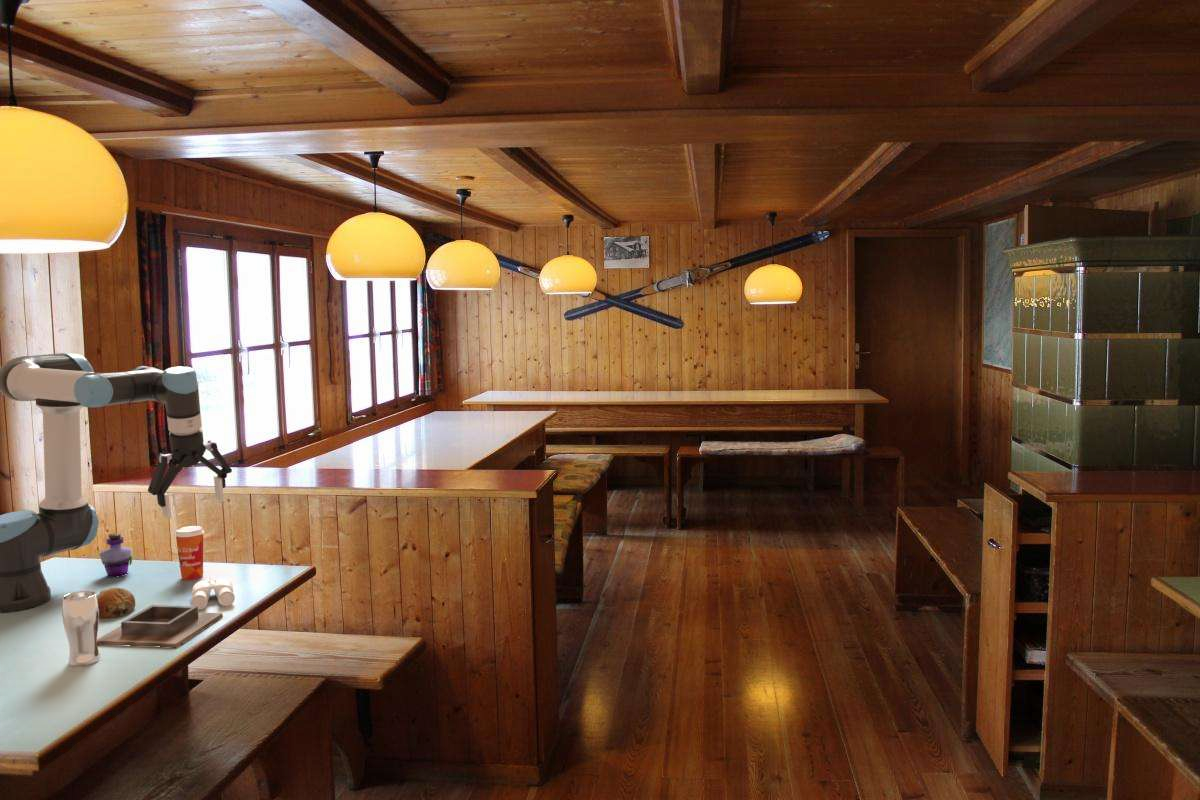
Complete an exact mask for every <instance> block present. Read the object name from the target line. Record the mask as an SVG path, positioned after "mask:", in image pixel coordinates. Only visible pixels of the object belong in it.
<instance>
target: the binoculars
mask: <svg viewBox="0 0 1200 800" xmlns="http://www.w3.org/2000/svg"><path fill="white" fill-rule="evenodd" d="M212 590H214V594H215V597H216V598H217V600H218V603H219V604H220V605H221V606H222V607H229V606H231V605H232V604H233V603H234V602H235V599H236V596H235V593H234V586H233V582H232V581H231V580H230V579H228V578H226V577H222V578H215V577H211V576H210V578H209V579H206V580H199V581H197V582H195V584H194V585H193V587H192V591H191V596H192V597H191V600H190V606H195V607H198V611H200V610H199V609H201V610H204V609H206V607H207V605H208V603H209V600H210V598H211V593H212Z"/></svg>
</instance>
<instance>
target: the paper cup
mask: <svg viewBox="0 0 1200 800" xmlns="http://www.w3.org/2000/svg"><path fill="white" fill-rule="evenodd" d="M204 534H205V530H204V529H203V527H202V526H200V525H199V526H198V525H189V526H183V527H180V528H178V529H176V531H175V533H174V536H175V539H176V547H177V554H178V562H179V563H178V564H179V569H180V576H181V579H182V580H183V579H184V581H190V580H191V581H193V580H198V579H201V578H202V577H203V576H204ZM200 577H201V578H200ZM197 578H198V579H197Z"/></svg>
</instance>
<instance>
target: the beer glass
mask: <svg viewBox="0 0 1200 800" xmlns="http://www.w3.org/2000/svg"><path fill="white" fill-rule="evenodd" d="M61 597H62V598H61V616H62V624H63V628H64V631H65V635H66V638H67V642H68V647H69V655H68V656H69V657H68V666H71V665H72V666H71V667H76V666H78V667H85V666H84V665H86V666H90V665H93V664H95V663H97V662H99V661H98V660H99V659H100V660H101V654H100V651H99V648H98V645H97V639H98V631H99V625H100V623H99V621H100V618H99V608H98V601H97V592H96V591H95V590H79V591H73V592H70V593H67V594H65V595H63V596H61ZM94 662H95V663H94ZM92 663H93V664H92ZM89 664H90V665H89Z"/></svg>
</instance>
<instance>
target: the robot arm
mask: <svg viewBox="0 0 1200 800" xmlns="http://www.w3.org/2000/svg"><path fill="white" fill-rule="evenodd" d="M199 387H200V386H199V382H198V379H197V372H196V371H195V369H194V368H192V367H189V366H182V365H181V366H180V365H179V366H171V367H168V368H166V369H164V370H161V369H158V368H156V367H153V366H147V365H146V366H144V365H141V366H137V367H135V368H134V369H133V370H130V371H129V370H126V371H121V372H120V371H119V372H105V373H104V372H95V371H94V368H93V367H92V365H91V363H90V362H89V361H88V359H87V358H86V357H84V356H83V355H81V354H78V353H74V352H73V353H69V352H68V353H66V352H63V353H62V352H61V353H59V352H58V353H48V354H39V355H24V356H18V357H15V358H11V359H10V360H8V361H6V362H4V363H3V365H1V367H0V393H1V394H2V395H3V396H4V397H5V398H7V399H10V400H13V401H16V402H17V401H18V402H31V401H32V402H33V401H35V406H36V407H37V408H39V409H40V410H41V411H42V429H43V430H42V433H43V434H42V435H43V436H42V437H43V462H44V464H43V466H44V472H43V473H44V495H45V497H44V498H43V499H42V500H41V501H40V502H39V503H38V513H36V511H34V510H30V509H29V510H27V509H26V510H24V509H23V510H18V511H11V512H7V513H3V514H1V515H0V613H5V612H8V611H9V612H16V611H20V610H26V609H31V608H34V607H38V606H40V605H43V604H45V603H47V602H48V601H50V600H51V599H52V590H51V587H50V586H49V585H48V582H47V580H46V577H45V575H44V574H43V571H42V563H41V558H43V557H44V558H45V557H47V556H48V557H49V556H51V555H52V556H53V555H56V554H60V553H64V552H69V551H75V550H78V549H80V548H83V547H85V546H87V545H89V544H91V543H92V541H94V540H95V538H96V537H97V533H98V531H99V524H100V523H99V516H98V514H97V510H96V509H95V507H94V506H92V505H91V504H89V499H87V498H86V497H85V496H83V494H82V493H83V491H82V490H83V489H82V452H81V451H82V450H81V449H82V448H81V445H82V444H81V415H80V414H81V411H80V410H81V409H82V408H102V407H105V406H106V407H107V406H113V405H121V404H129V403H139V402H148V401H154V402H158V403H160V404H165V410H166V412H165V413H166V419H167V421H166V422H167V430H168V431H169V432H168V436H169V446H170V453H166V454H163V453H158V455H157V464H156V467H155V469H154V471H153V474H152V477H151V479H150V483H149V486H148V489H147V492H148V493H149V494H151V495H152V496H156V498H157V505H158V506H159V507H161V508H162V516H163V517H165V518H166V519H167V520H171V519H172V513H171V504H170V496H169V493H167V491H168V489H169V488H170V486H171V484H172V483H173V482H174V481H175V478H176V477H177V475H178V474H179V473H180V472H181V471H182V470H183V468H185V469H186V468H189V467H190V466H191V467H192V466H196V465H198V464H199V463H201V464H203V465H204V466H205V467H207V468H208V469H209V470H210V471H212V472H213V473H214V474H216V475H213V481H214V482H213V484H214V490H215V491H214V492H215V493H214V495H215V500H217V501H218V502H219V503H224V502H225V498H224V496H225V495H224V489H225V488H226V478H227V477H228V475H227V474H231V473H233V470H232V467H230V464H228V462H227V461H226V460H225V458H224V457H223V455H222V454H221V452H220V451H219V449H218V444H217V443H216V442H215V441H212V440H208V441H207V443H204V431H203V429H202V426H203V424H202V414H201V405H200V404H201V403H200V402H201V401H200V393H199V391H200V390H199ZM206 451H209V453H210V454H211V455H212V456H213V458H214V460H216V462H217V463H218V465H219V466H220V468H221V469H220V468H218V466H216V465H215V464H213V463H212V462H211V461H210V460H209V459H207V458H206V457H204V454H205V453H206ZM171 460H172V461H171ZM170 461H171V463H170ZM169 463H170V464H169ZM168 464H169V467H168ZM167 469H168V470H167Z"/></svg>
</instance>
